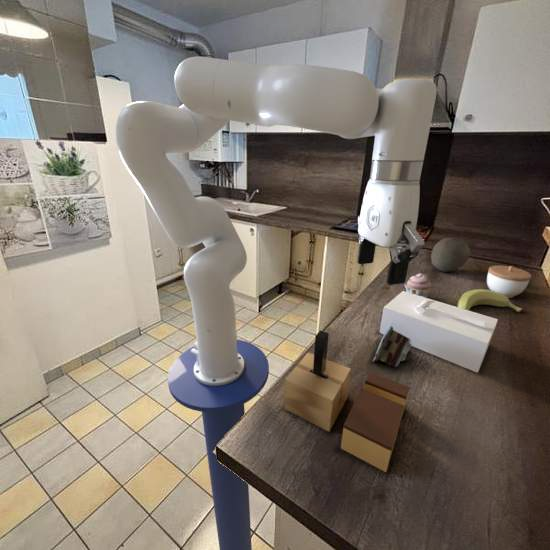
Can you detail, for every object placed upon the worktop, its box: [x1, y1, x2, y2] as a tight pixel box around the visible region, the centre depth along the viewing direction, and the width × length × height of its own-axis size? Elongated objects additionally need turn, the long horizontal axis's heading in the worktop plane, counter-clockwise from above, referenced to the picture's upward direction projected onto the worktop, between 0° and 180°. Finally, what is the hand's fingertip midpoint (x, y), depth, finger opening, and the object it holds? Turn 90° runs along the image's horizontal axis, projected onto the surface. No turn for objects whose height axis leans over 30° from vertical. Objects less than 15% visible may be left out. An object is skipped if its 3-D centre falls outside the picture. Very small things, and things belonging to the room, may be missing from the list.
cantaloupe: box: [430, 236, 471, 273], centre depth 128 cm, size 14×14×15 cm
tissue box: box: [379, 290, 499, 374], centre depth 81 cm, size 14×25×11 cm, turn 47°
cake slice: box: [363, 371, 410, 419], centre depth 60 cm, size 8×3×6 cm, turn 57°
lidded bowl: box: [486, 265, 533, 299], centre depth 108 cm, size 13×13×11 cm
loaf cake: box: [340, 387, 405, 473], centre depth 53 cm, size 8×10×6 cm
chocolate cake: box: [372, 324, 413, 368], centre depth 76 cm, size 10×7×12 cm
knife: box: [312, 330, 330, 379], centre depth 58 cm, size 3×2×18 cm
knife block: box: [284, 352, 352, 432], centre depth 60 cm, size 10×10×8 cm
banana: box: [457, 288, 523, 314], centre depth 98 cm, size 14×6×20 cm
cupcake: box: [403, 272, 434, 298], centre depth 105 cm, size 9×9×10 cm
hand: (379, 272), depth 53 cm, fingers open, 9 cm apart
